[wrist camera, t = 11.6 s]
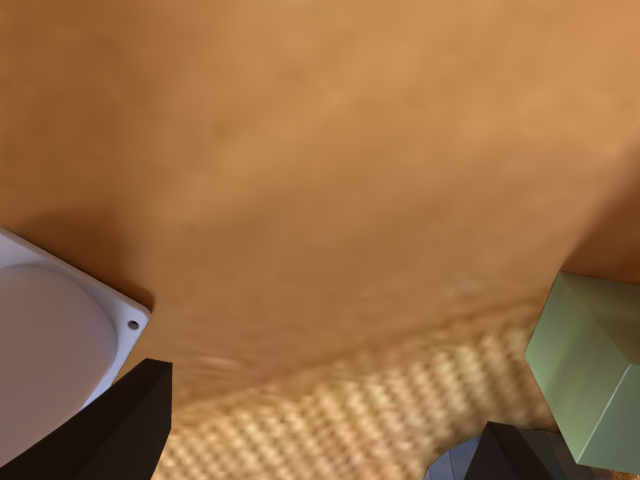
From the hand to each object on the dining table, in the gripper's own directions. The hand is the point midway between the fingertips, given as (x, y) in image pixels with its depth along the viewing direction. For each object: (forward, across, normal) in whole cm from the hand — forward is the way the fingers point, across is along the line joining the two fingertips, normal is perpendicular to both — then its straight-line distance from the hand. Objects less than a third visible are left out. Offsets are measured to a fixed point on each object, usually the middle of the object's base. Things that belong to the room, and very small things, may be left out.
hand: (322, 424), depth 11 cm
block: (+10, -11, +2) cm, 16 cm away
